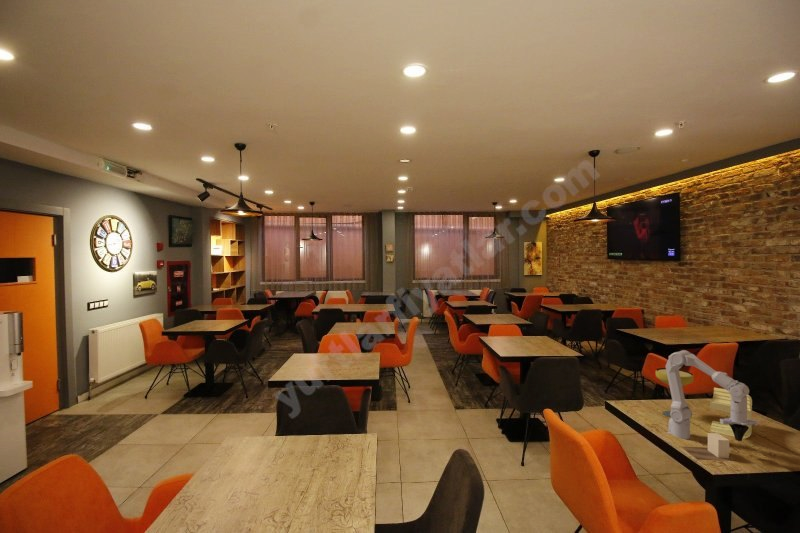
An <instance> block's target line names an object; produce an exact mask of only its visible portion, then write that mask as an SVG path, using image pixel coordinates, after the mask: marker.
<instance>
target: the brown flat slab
mask: <svg viewBox="0 0 800 533" xmlns="http://www.w3.org/2000/svg"><path fill="white" fill-rule="evenodd" d="M681 448H682V449H683V450H685V451H686V452H687V453H689V454H690V455H691V456H692V457H694V458H695V459H696V460H698V461H699V460H701V461H722V462H723V461H724V462H736V460H735V459H734V458H732V457H731V456H730V455H729V458H718V457H717V456H715V455H714V454H712V453H711V452H710V451H708V447H702V446H681Z"/></svg>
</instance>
